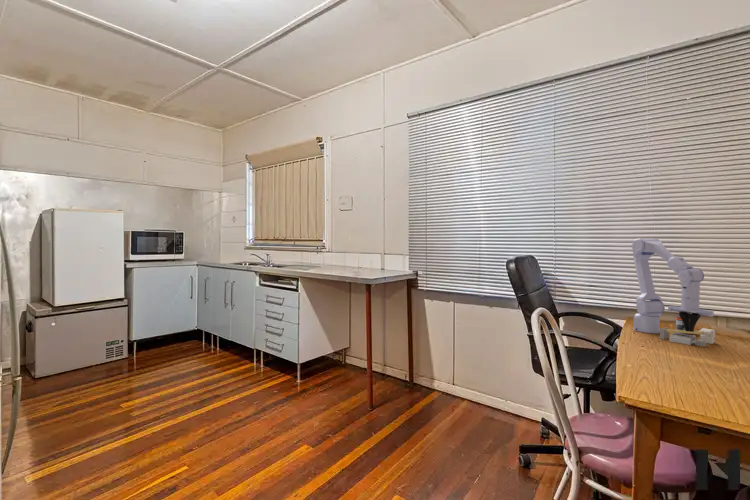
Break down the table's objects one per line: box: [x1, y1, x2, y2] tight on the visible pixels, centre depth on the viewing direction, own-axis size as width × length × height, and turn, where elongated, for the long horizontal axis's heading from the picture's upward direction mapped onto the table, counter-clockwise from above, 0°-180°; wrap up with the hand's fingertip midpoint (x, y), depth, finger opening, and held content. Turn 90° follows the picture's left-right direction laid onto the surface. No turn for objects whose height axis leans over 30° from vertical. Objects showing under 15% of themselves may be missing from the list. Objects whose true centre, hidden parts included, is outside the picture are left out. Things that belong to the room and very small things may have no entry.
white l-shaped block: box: [698, 327, 716, 345], centre depth 158 cm, size 4×7×5 cm, turn 125°
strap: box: [665, 328, 704, 335], centre depth 160 cm, size 13×2×1 cm, turn 35°
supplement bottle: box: [675, 311, 691, 335], centre depth 175 cm, size 6×6×11 cm
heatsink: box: [668, 332, 697, 346], centre depth 160 cm, size 7×7×3 cm
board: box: [659, 326, 707, 348], centre depth 160 cm, size 16×22×6 cm
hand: (689, 331), depth 158 cm, fingers closed
